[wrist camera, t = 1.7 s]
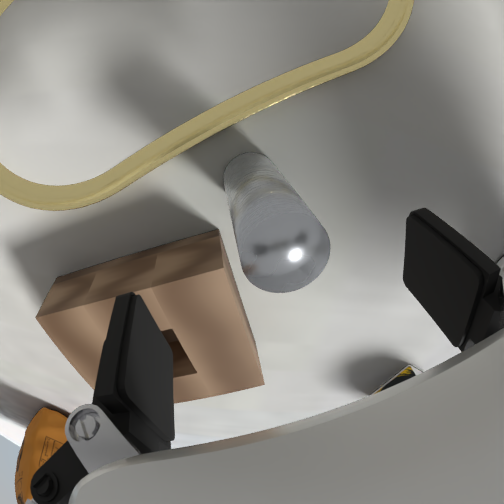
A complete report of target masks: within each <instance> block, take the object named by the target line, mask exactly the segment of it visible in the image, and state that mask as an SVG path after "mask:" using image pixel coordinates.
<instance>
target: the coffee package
mask: <svg viewBox="0 0 504 504" xmlns="http://www.w3.org/2000/svg"><path fill="white" fill-rule="evenodd" d="M67 419H68V418H67V417H65V416H64V415H62V414H60V413H59V412H56V411H53V410H50V409H47V408H45V407H44V408H42V409H41V410H40V411H39V412H38V413H37V414H36V415H35V416H34V418H33V419H32V420H31V422H30V424H29V425H28V427H27V429H26V431H25V436H24V440H23V443H22V446H21V449H20V452H19V456H18V460H17V468H16V474H15V492H16V499H17V503H18V504H25V502H26V501H27V499H30V500H32V498H33V497H32V495H31V490H30V485H31V480H32V477H33V475H34V474H35V472H36V471H37V470H38V469H39V468H40V467H41V466H42V465H43V464H44V463H45V462H46V461H47V460H48V459H49V458H50V457H51V456H52V455H53V454H54V453H55V452H56V451H57V450H58V449H59V448H60V447H61V446H62V445H63V444H64V443H65V442H66V441H67V438H66V435H65V425H66V421H67Z"/></svg>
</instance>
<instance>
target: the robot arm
mask: <svg viewBox="0 0 504 504" xmlns="http://www.w3.org/2000/svg"><path fill="white" fill-rule="evenodd" d="M403 281H404V284H405V286H406V287H407V288H408V289H409V291H410V292H411V293H412V294H413V295H414V297H415V298H416V299H417V300H418V301H419V303H420V304H421V305H422V306H423V308H424V309H425V310H426V311H427V312H428V314H429V315H430V316H431V317H432V319H433V320H434V321H435V323H436V324H437V325H438V326H439V328H440V329H441V330H442V331H443V333H444V334H445V335H446V337H447V338H448V339H449V341H450V342H451V343H452V345H453V346H455V347H458V348H459V349H460V350H461V353H459V354H458V355H456V356H454V357H452V358H450V359H448V360H446V361H445V362H443V363H441V364H439V365H437V366H435V367H433V368H431V369H429V370H427V371H425V372H423V373H421V374H418V375H416V376H414V377H412V378H410V379H408V380H405V381H403V382H401V383H399V384H397V385H394V386H392V387H390V388H387V389H385V390H383V391H380V392H378V393H375V394H373V395H370V396H368V397H365V398H363V399H360V400H358V401H355V402H352V403H350V404H347V405H344V406H342V407H339V408H336V409H333V410H330V411H327V412H324V413H321V414H318V415H315V416H312V417H309V418H306V419H302V420H299V421H296V422H292V423H289V424H286V425H282V426H278V427H275V428H271V429H267V430H263V431H259V432H255V433H251V434H247V435H243V436H238V437H234V438H229V439H224V440H219V441H214V442H209V443H204V444H199V445H193V446H188V447H182V448H175V449H171V442H170V441H173V440H174V438H175V430H174V399H173V353H172V350H171V347H170V346H169V344H168V342H167V341H166V339H165V337H164V336H163V334H162V332H161V331H160V329H159V327H158V325H157V324H156V322H155V320H154V318H153V317H152V315H151V313H150V311H149V309H148V308H147V306H146V304H145V302H144V300H143V299H142V297H141V296H140V295H139V294H138V295H135V293H134V292H129V293H125V294H122V295H118V296H116V298H115V302H114V306H113V310H112V314H111V319H110V323H109V327H108V331H107V336H106V340H105V341H104V344H103V348H102V353H101V358H100V363H99V368H98V373H97V378H96V384H95V389H94V395H93V402H92V404H85V405H82V406H79V407H78V408H76V409H75V410H74V411H73V412H72V413H71V414H70V415H69V417H68V419H67V421H66V425H65V435H66V438H67V441H66V442H65V443H64V444H63V445H62V446H61V447H60V448H59V449H58V450H57V451H56V452H55V453H54V454H53V455H52V456H51V457H50V458H49V459H48V460H47V461H46V462H45V463H44V464H43V465H42V466H41V467H40V468H39V469H38V470H37V471H36V472H35V474H34V475H33V477H32V480H31V485H30V490H31V495H32V497H33V498H32V500H30V499H27V501H26V502H25V504H504V256H503V257H502V258H501V259H500V260H499V261H498V263H497V264H496V263H494V262H493V261H492V260H491V259H490V258H489V257H488V256H486V255H485V254H484V253H483V252H482V251H480V250H479V249H478V248H477V247H476V246H474V245H473V244H472V243H471V242H470V241H468V240H467V239H466V238H465V237H463V236H462V235H461V234H460V233H458V232H457V231H456V230H455V229H453V228H452V227H451V226H449V225H448V224H447V223H446V222H444V221H443V220H442V219H440V218H439V217H438V216H436V215H435V214H434V213H432V212H431V211H429V210H428V209H426V208H422V209H418V210H415V211H412V212H410V214H409V217H407V220H406V240H405V257H404V270H403Z"/></svg>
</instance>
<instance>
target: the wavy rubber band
mask: <svg viewBox="0 0 504 504" xmlns="http://www.w3.org/2000/svg"><path fill="white" fill-rule="evenodd" d="M13 1H14V0H0V16H1V14H2V13H3V12H4V11H5V9H6V8H7V7H8V6H9V5H10V4H11V3H12V2H13ZM413 4H414V0H389V1H388V5H387V7H386V10H385V12H384V14H383V16H382V18H381V20H380V21H379V22H378V24H377V25H376V26H375V28H374V29H373V30H372V31H371V32H370V33H369V34H368V35H367V36H366V37H364V38H363V39H362V40H360V41H359V42H358V43H356V44H354V45H353V46H351V47H349V48H347V49H345V50H343V51H340V52H338V53H335V54H333V55H330V56H327V57H324V58H322V59H319V60H316V61H314V62H311V63H309V64H306V65H304V66H301V67H299V68H296V69H294V70H291V71H289V72H286V73H284V74H282V75H279V76H277V77H275V78H273V79H270V80H268V81H266V82H264V83H261V84H259V85H257V86H255V87H253V88H251V89H249V90H247V91H244V92H242V93H240V94H238V95H236V96H234V97H232V98H230V99H228V100H226V101H224V102H222V103H220V104H218V105H217V106H215V107H213V108H211V109H209V110H207V111H205V112H203V113H202V114H200V115H198V116H196V117H194V118H192V119H191V120H189V121H187V122H185V123H184V124H182V125H180V126H178V127H177V128H175V129H173V130H172V131H170V132H168V133H167V134H165V135H163V136H162V137H160V138H158V139H157V140H155V141H153V142H152V143H150V144H149V145H147V146H145V147H144V148H142V149H141V150H139V151H138V152H136V153H135V154H133V155H131V156H130V157H128V158H127V159H125V160H124V161H122V162H121V163H119V164H118V165H117V166H115V167H114V168H112V169H110V170H109V171H107V172H105V173H104V174H102V175H99V176H97V177H95V178H93V179H90V180H87V181H85V182H81V183H77V184H71V185H63V186H50V185H42V184H38V183H34V182H30V181H28V180H25V179H23V178H21V177H19V176H17V175H15V174H14V173H12V172H11V171H9V170H8V169H7V168H6V167H4V166H3V165H2V164H1V163H0V194H1V195H2V196H4V197H6V198H8V199H9V200H11V201H13V202H16V203H18V204H20V205H23V206H27V207H30V208H34V209H40V210H50V211H60V210H70V209H77V208H81V207H85V206H88V205H91V204H94V203H97V202H100V201H102V200H104V199H106V198H108V197H110V196H112V195H114V194H116V193H117V192H119V191H121V190H122V189H124V188H125V187H127V186H128V185H130V184H131V183H133V182H135V181H136V180H138V179H139V178H141V177H142V176H144V175H146V174H147V173H149V172H150V171H152V170H154V169H155V168H157V167H158V166H160V165H162V164H163V163H165V162H167V161H168V160H170V159H172V158H173V157H175V156H177V155H179V154H180V153H182V152H184V151H185V150H187V149H189V148H191V147H192V146H194V145H196V144H198V143H200V142H201V141H203V140H205V139H207V138H209V137H211V136H212V135H214V134H216V133H218V132H220V131H222V130H224V129H226V128H227V127H229V126H231V125H233V124H235V123H237V122H239V121H241V120H243V119H245V118H247V117H249V116H251V115H253V114H255V113H257V112H259V111H261V110H263V109H266V108H268V107H270V106H272V105H274V104H276V103H278V102H281V101H283V100H285V99H287V98H289V97H292V96H294V95H296V94H298V93H301V92H303V91H305V90H308V89H310V88H313V87H315V86H317V85H320V84H322V83H325V82H327V81H330V80H332V79H335V78H337V77H340V76H342V75H345V74H348V73H350V72H353V71H355V70H357V69H360V68H362V67H364V66H366V65H368V64H369V63H371V62H373V61H374V60H376V59H377V58H378V57H380V56H381V55H382V54H384V53H385V52H386V51H387V50H388V49H389V48H390V47H391V46H392V45H393V44H394V43H395V42H396V40H397V39H398V38H399V36H400V35H401V33H402V32H403V30H404V29H405V27H406V25H407V23H408V20H409V18H410V15H411V12H412V8H413Z"/></svg>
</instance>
